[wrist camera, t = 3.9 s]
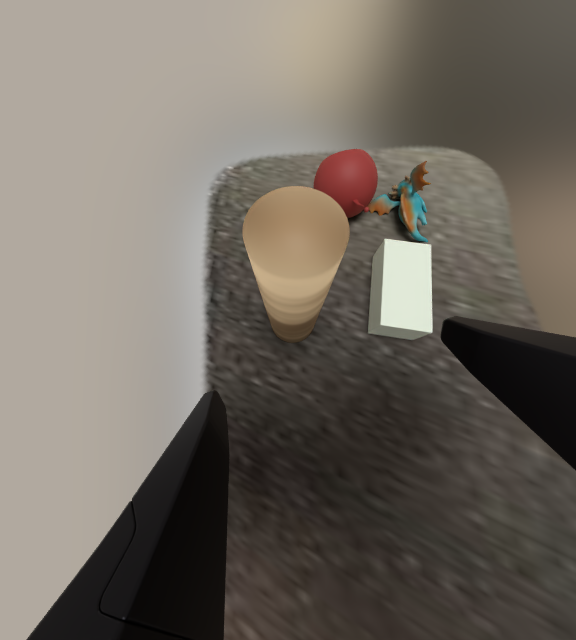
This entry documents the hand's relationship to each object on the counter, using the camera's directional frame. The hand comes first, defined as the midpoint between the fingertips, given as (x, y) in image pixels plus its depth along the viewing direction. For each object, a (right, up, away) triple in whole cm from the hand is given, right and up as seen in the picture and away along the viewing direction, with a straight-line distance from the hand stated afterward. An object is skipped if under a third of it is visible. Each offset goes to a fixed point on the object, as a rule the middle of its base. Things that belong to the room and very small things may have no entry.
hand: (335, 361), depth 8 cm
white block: (+8, +4, +13) cm, 16 cm away
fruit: (+4, +13, +16) cm, 21 cm away
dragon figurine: (+11, +12, +16) cm, 22 cm away
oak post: (-1, +1, +12) cm, 13 cm away
